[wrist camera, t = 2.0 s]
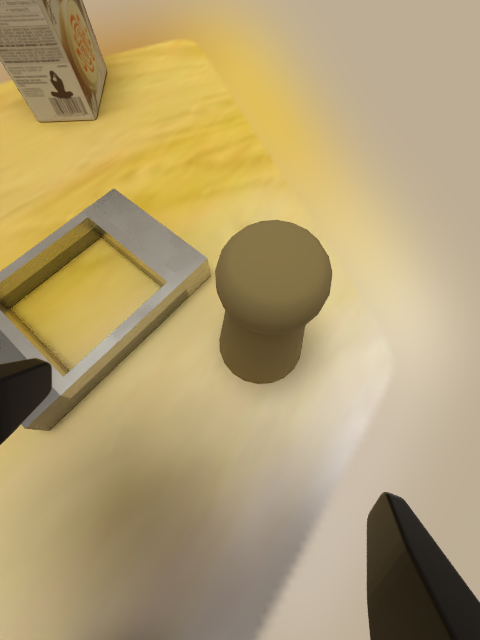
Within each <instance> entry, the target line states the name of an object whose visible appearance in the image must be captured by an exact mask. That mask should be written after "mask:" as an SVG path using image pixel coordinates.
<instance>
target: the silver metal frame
mask: <svg viewBox="0 0 480 640" xmlns="http://www.w3.org/2000/svg"><path fill="white" fill-rule="evenodd" d="M100 237H102V238H103V239H104V240H106V241H107V242H108V243H109V244H110V245H112V246H113V247H114V248H115V249H116V250H118V251H119V252H120V253H121V254H122V255H124V256H125V257H126V258H127V259H129V260H130V261H131V262H132V263H133V264H135V265H136V266H137V267H138V268H139V269H141V270H142V271H143V272H144V273H145V274H147V275H148V276H149V277H150V278H151V279H153V280H154V281H155V282H156V283H158V284H159V285H160V286H161V288H160V289H159V290H158V291H157V292H156V293H155V294H154V295H153V296H152V297H150V298H149V299H148V300H147V301H146V302H145V303H144V304H143V305H142V306H141V307H139V308H138V309H137V310H136V311H135V312H134V313H133V314H132V315H131V316H130V317H129V318H127V319H126V320H125V321H124V322H123V323H122V324H121V325H120V326H119V327H118V328H116V329H115V330H114V331H113V332H112V333H111V334H110V335H109V336H108V337H107V338H106V339H104V340H103V341H102V342H101V343H100V344H99V345H98V346H97V347H96V348H95V349H93V350H92V351H91V352H90V353H89V354H88V355H87V356H86V357H85V358H84V359H83V360H81V361H80V362H79V363H78V364H77V365H76V366H75V367H74V368H73V369H72V370H71V371H68V370H67V369H66V368H65V366H64V365H63V364H62V363H61V362H60V361H59V360H58V359H57V358H56V357H55V356H54V355H53V354H52V353H51V352H50V351H49V350H48V349H47V348H46V347H45V345H44V344H43V343H42V342H41V341H40V340H39V339H38V338H37V337H36V336H35V335H34V334H33V333H32V332H31V331H30V330H29V329H28V328H27V327H26V326H25V324H24V323H23V322H22V321H21V320H20V319H19V318H18V317H17V316H16V315H15V314H14V313H13V312H12V311H11V310H10V309H9V308H10V307H12V306H13V305H14V304H16V303H17V302H18V301H19V300H21V299H22V298H23V297H25V296H26V295H27V294H28V293H30V292H31V291H32V290H33V289H35V288H36V287H37V286H39V285H40V284H41V283H42V282H44V281H45V280H46V279H48V278H49V277H50V276H51V275H53V274H54V273H55V272H56V271H58V270H59V269H60V268H62V267H63V266H64V265H65V264H67V263H68V262H69V261H71V260H72V259H73V258H74V257H76V256H77V255H78V254H79V253H81V252H82V251H83V250H85V249H86V248H87V247H88V246H90V245H91V244H92V243H94V242H95V241H96V240H97V239H99V238H100ZM209 276H210V270H209V265H208V259H207V258H206V257H205V256H203V255H202V254H201V253H199V252H198V251H197V250H195V249H194V248H193V247H191V246H190V245H189V244H187V243H186V242H185V241H183V240H182V239H181V238H179V237H178V236H177V235H175V234H174V233H173V232H171V231H170V230H169V229H167V228H166V227H165V226H163V225H162V224H161V223H159V222H158V221H157V220H155V219H154V218H153V217H151V216H150V215H149V214H147V213H146V212H145V211H143V210H142V209H141V208H139V207H138V206H137V205H135V204H134V203H133V202H131V201H130V200H129V199H127V198H126V197H125V196H123V195H122V194H121V193H119V192H118V191H117V190H115V189H112V190H111V191H110V192H108V193H107V194H105V195H104V196H103V197H101V198H100V199H99V200H97V201H96V202H95V203H93V204H92V205H90V206H89V207H88V208H86V209H85V210H84V211H82V212H81V213H80V214H78V215H77V216H75V217H74V218H73V219H71V220H70V221H69V222H67V223H66V224H65V225H63V226H62V227H60V228H59V229H58V230H56V231H55V232H54V233H52V234H51V235H50V236H48V237H47V238H45V239H44V240H43V241H41V242H40V243H39V244H37V245H36V246H35V247H33V248H32V249H30V250H29V251H28V252H26V253H25V254H24V255H22V256H21V257H20V258H18V259H17V260H15V261H14V262H13V263H11V264H10V265H9V266H7V267H6V268H5V269H3V270H2V271H1V272H0V364H4V363H10V362H15V361H21V360H26V359H32V358H38V359H41V360H44V361H46V362H49V363H50V364H51V366H52V389H51V392H50V393H49V395H48V396H47V397H46V398H45V399H44V401H43V402H42V403H41V404H40V405H39V406H38V407H37V408H36V409H35V410H34V411H33V412H32V413H31V414H30V415H29V416H28V417H27V418H26V419H25V420H24V421H23V422H22V426H23V427H24V428H25V429H35V430H46V431H49V430H50V429H51V428H52V427H53V426H54V425H55V424H56V423H58V422H59V421H60V420H61V419H62V418H63V417H64V416H65V415H66V414H67V413H68V412H69V411H70V410H71V409H72V408H73V407H74V406H75V405H76V404H77V403H78V402H79V401H80V400H81V399H82V398H84V397H85V396H86V395H87V394H88V393H89V392H90V391H91V390H92V389H93V388H94V387H95V386H96V385H97V384H98V383H99V382H100V381H101V380H102V379H103V378H104V377H105V376H106V375H107V374H109V373H110V372H111V371H112V370H113V369H114V368H115V367H116V366H117V365H118V364H119V363H120V362H121V361H122V360H123V359H124V358H125V357H126V356H127V355H128V354H129V353H130V352H131V351H132V350H133V349H135V348H136V347H137V346H138V345H139V344H140V343H141V342H142V341H143V340H144V339H145V338H146V337H147V336H148V335H149V334H150V333H151V332H152V331H153V330H154V329H155V328H156V327H157V326H158V325H160V324H161V323H162V322H163V321H164V320H165V319H166V318H167V317H168V316H169V315H170V314H171V313H172V312H173V311H174V310H175V309H176V308H177V307H178V306H179V305H180V304H181V303H182V302H183V301H185V300H186V299H187V298H188V297H189V296H190V295H191V294H192V293H193V292H194V291H195V290H196V289H197V288H198V287H199V286H200V285H201V284H202V283H203V282H204V281H205V280H206V279H207V278H208V277H209Z"/></svg>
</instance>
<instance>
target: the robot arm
mask: <svg viewBox="0 0 480 640" xmlns="http://www.w3.org/2000/svg"><path fill="white" fill-rule="evenodd" d="M51 389H52V366H51V364H50V363H49V362H46V361H44V360H41V359H38V358H32V359H26V360H21V361H15V362H10V363H4V364H0V445H1V444H2V443H3V442H4V441H5V440H6V439H7V438H8V437H9V436H10V435H11V434H12V433H13V432H14V431H15V430H16V429H17V428H18V427H19V426H20V425H21V424H22V422H23V421H24V420H25V419H26V418H27V417H28V416H29V415H30V414H31V413H32V412H33V411H34V410H35V409H36V408H37V407H38V406H39V405H40V404H41V403H42V402H43V401H44V399H45V398H46V397H47V396H48V395H49V393H50V392H51ZM367 604H368V617H369V628H370V638H371V640H480V602H479V601H478V600H477V598H476V597H475V595H474V594H473V593H472V591H471V590H470V589H469V587H468V586H467V585H466V583H465V582H464V580H463V579H462V578H461V576H460V575H459V574H458V572H457V571H456V569H455V568H454V567H453V565H452V564H451V563H450V561H449V560H448V559H447V557H446V556H445V555H444V553H443V552H442V551H441V549H440V548H439V546H438V545H437V544H436V542H435V541H434V539H433V538H432V537H431V536H430V534H429V533H428V531H427V530H426V529H425V528H424V526H423V525H422V523H421V522H420V520H419V519H418V518H417V516H416V515H415V514H414V512H413V511H412V510H411V508H410V507H409V505H408V504H407V503H406V502H405V500H404V499H402V498H401V497H399V496H396V495H394V494H391V493H388V492H384V493H382V494H381V495H380V497H379V498H378V500H377V502H376V503H375V505H374V506H373V508H372V510H371V511H370V513H369V515H368V519H367Z"/></svg>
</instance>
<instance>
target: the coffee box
mask: <svg viewBox="0 0 480 640" xmlns="http://www.w3.org/2000/svg"><path fill="white" fill-rule="evenodd" d="M0 61H1V62H2V64H3V66H4V67H5V69H6V70H7V72H8V74H9V75H10V77H11V78H12V80H13V81H14V83H15V85H16V86H17V88H18V90H19V91H20V93H21V94H22V96H23V98H24V99H25V101H26V102H27V104H28V106H29V107H30V109H31V110H32V112H33V114H34V115H35V117H36V118H37V120H38V121H40V122H50V121H73V120H95V119H96V117H97V113H98V108H99V104H100V99H101V95H102V90H103V85H104V81H105V76H106V71H107V68H106V65H105V63H104V60H103V57H102V54H101V52H100V49H99V46H98V43H97V41H96V37H95V35H94V32H93V29H92V26H91V24H90V21H89V18H88V15H87V12H86V9H85V7H84V4H83V1H82V0H0Z"/></svg>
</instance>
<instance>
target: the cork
mask: <svg viewBox="0 0 480 640" xmlns="http://www.w3.org/2000/svg"><path fill="white" fill-rule="evenodd" d="M215 274H216V288H217V293H218V295H219V298H220V300H221V302H222V305H223V307H224V308H225V315H224V320H223V325H222V331H221V336H220V353H221V355H222V357H223V360H224V362H225V364H226V365H227V367H228V368H229V369H230V370H231V371H232V373H233V374H235V375H236V376H238V377H240V378H241V379H243V380H245V381H248V382H252V383H257V384H263V383H272V382H275V381H277V380H279V379H282V378H284V377H285V376H286V375H287V374H288V373H290V372H291V371H292V370H293V369H294V367H295V365H296V364H297V362H298V360H299V358H300V353H301V347H302V341H303V335H304V329H305V325H306V324H307V323H308V322H309V321H311V320H312V319H313V318H314V317H315V316H317V315H318V313H319V312H320V310H321V308H322V307H323V305H324V303H325V301H326V300H327V298H328V296H329V294H330V287H331V280H332V269H331V264H330V260H329V256H328V255H327V253H326V252H325V250H324V248H323V247H322V245H321V244H320V242H319V240H318V239H317V238H316V237H315V236H313V235H312V234H311V233H310V232H309V231H308V230H306V229H304V228H302V227H300V226H298V225H296V224H294V223H290V222H285V221H279V220H271V221H261V222H258V223H255V224H252V225H249V226H247V227H245V228H244V229H242V230H241V231H239V232H238V233H236V234H235V235H234V236H233V237H231V239H230V240H229V241H228V242H227V244H226V245H225V246H224V248H223V249H222V251H221V254H220V257H219V260H218V264H217V267H216V270H215Z"/></svg>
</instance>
